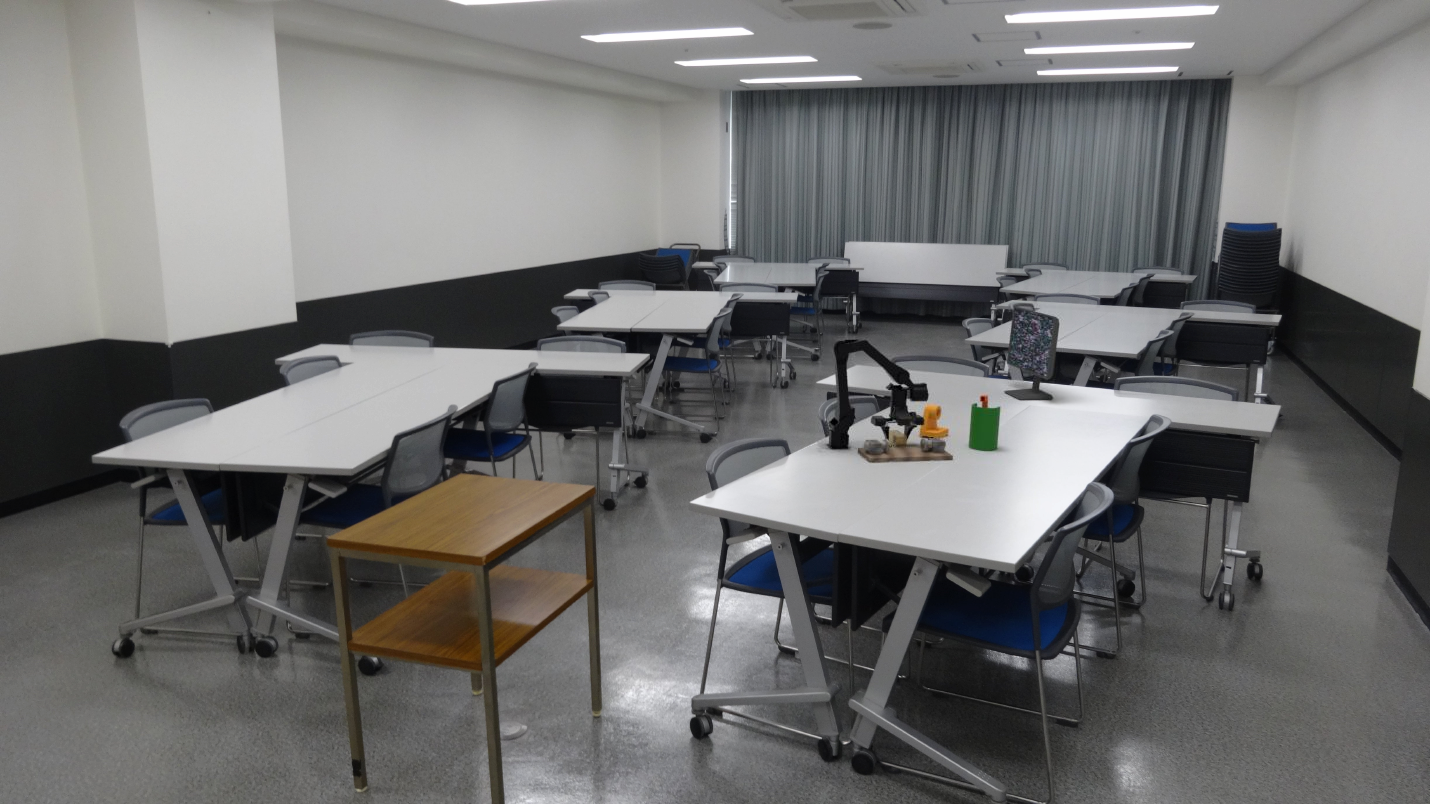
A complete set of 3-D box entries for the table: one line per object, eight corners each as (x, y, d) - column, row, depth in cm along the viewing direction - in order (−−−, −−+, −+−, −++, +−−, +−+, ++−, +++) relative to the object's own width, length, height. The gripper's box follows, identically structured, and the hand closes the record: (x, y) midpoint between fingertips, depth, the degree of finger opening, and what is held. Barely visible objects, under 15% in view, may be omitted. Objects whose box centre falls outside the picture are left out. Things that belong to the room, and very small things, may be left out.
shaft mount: (870, 462, 327) (870, 445, 325) (857, 452, 340) (858, 435, 339) (952, 459, 331) (953, 442, 330) (937, 449, 345) (938, 433, 344)
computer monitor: (992, 387, 464) (999, 305, 456) (1024, 387, 466) (1031, 305, 458) (1031, 406, 422) (1039, 316, 413) (1066, 406, 423) (1074, 316, 415)
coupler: (906, 449, 345) (907, 436, 344) (895, 450, 344) (896, 436, 343) (896, 442, 355) (897, 429, 354) (886, 443, 354) (887, 430, 353)
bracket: (936, 440, 359) (938, 409, 356) (919, 437, 363) (921, 406, 361) (949, 435, 367) (951, 404, 365) (931, 432, 372) (933, 402, 369)
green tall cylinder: (998, 446, 351) (1002, 393, 346) (994, 452, 343) (999, 397, 339) (970, 443, 355) (974, 390, 351) (966, 448, 347) (970, 395, 343)
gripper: (881, 406, 337) (879, 449, 340) (931, 405, 340) (928, 448, 343) (871, 400, 348) (869, 441, 351) (919, 399, 351) (917, 440, 354)
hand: (896, 443), depth 349 cm, fingers open, 6 cm apart
